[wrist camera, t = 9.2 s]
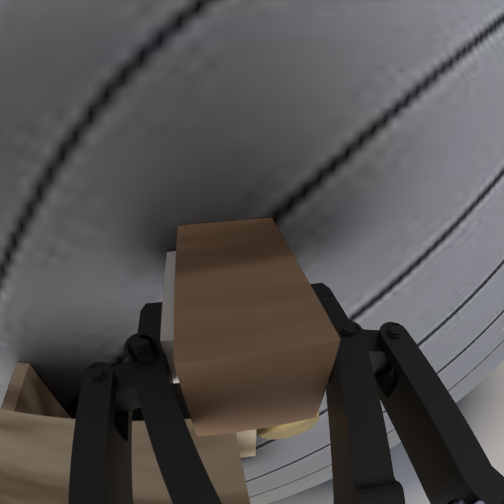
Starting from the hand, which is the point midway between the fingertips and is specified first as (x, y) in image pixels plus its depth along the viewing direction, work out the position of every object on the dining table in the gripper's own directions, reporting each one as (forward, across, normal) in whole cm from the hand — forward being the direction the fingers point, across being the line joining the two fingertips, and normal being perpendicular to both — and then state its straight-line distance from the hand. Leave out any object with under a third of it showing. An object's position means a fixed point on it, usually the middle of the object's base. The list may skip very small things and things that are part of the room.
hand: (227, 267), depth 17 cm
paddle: (0, 0, -11) cm, 11 cm away
